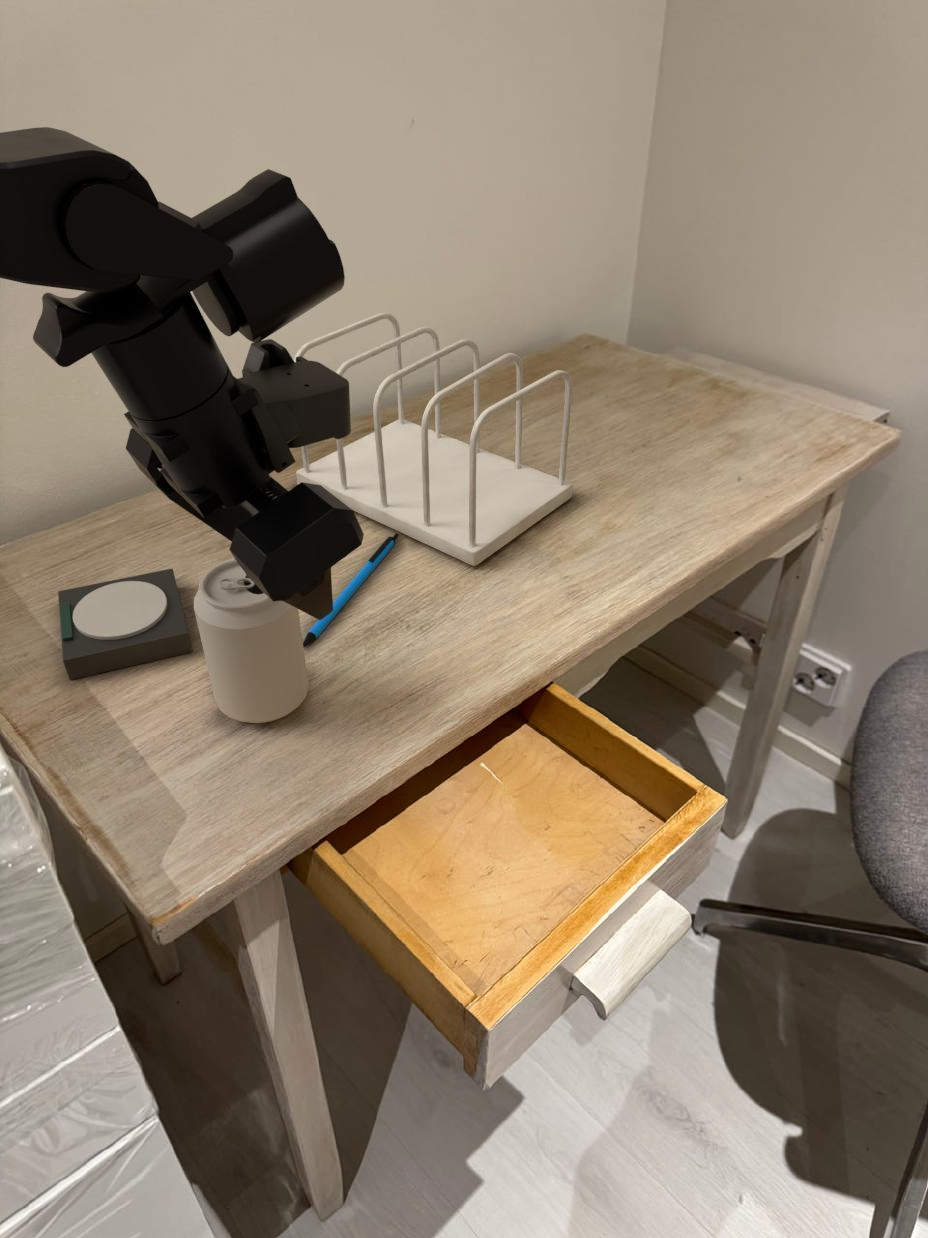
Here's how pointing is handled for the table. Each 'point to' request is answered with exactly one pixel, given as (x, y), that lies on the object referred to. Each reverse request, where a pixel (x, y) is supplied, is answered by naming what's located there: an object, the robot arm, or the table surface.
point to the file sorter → (440, 462)
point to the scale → (121, 623)
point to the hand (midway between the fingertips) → (288, 580)
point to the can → (249, 646)
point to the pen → (351, 589)
